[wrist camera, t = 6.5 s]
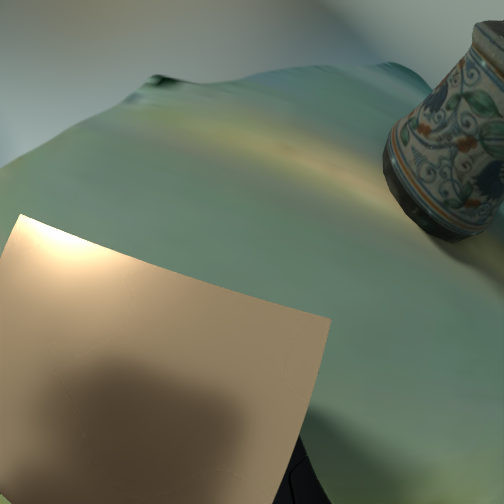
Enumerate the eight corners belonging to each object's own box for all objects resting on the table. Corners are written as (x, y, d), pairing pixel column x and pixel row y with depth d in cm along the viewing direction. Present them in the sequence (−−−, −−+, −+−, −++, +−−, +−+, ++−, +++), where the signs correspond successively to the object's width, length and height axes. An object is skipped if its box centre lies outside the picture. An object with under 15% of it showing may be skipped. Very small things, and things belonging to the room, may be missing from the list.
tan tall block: (230, 430, 14) (220, 600, 1) (147, 401, 14) (-34, 458, 2) (256, 350, 15) (331, 319, 3) (172, 323, 16) (20, 214, 3)
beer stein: (400, 247, 26) (582, 61, 2) (355, 110, 32) (417, -52, 9) (492, 244, 27) (621, 140, 3) (444, 129, 34) (517, 15, 10)
